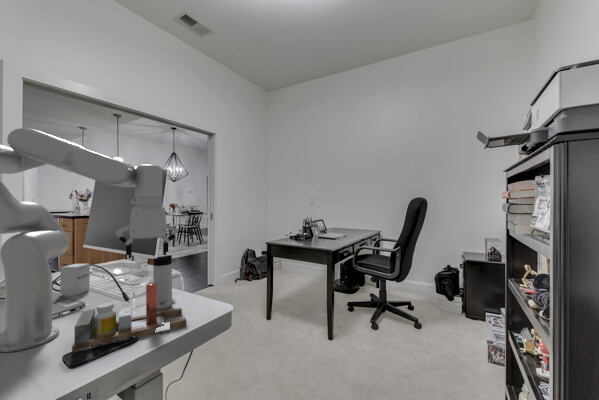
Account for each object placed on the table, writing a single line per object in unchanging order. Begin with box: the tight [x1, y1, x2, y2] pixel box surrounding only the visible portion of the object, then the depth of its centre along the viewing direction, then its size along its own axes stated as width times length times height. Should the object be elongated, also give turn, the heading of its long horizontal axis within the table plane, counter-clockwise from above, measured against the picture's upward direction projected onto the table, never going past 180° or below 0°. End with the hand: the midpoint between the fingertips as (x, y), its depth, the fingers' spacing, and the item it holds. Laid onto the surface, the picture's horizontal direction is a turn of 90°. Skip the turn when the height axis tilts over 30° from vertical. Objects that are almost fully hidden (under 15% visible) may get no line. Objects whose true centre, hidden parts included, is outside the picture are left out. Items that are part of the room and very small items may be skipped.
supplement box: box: [59, 263, 91, 297], centre depth 117 cm, size 7×7×13 cm
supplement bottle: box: [93, 301, 117, 338], centre depth 77 cm, size 5×5×10 cm
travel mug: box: [152, 254, 173, 312], centre depth 98 cm, size 6×7×20 cm
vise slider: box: [118, 282, 165, 333], centre depth 82 cm, size 12×7×13 cm, turn 122°
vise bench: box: [71, 307, 187, 353], centre depth 81 cm, size 28×12×7 cm, turn 122°
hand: (147, 255), depth 83 cm, fingers open, 9 cm apart
